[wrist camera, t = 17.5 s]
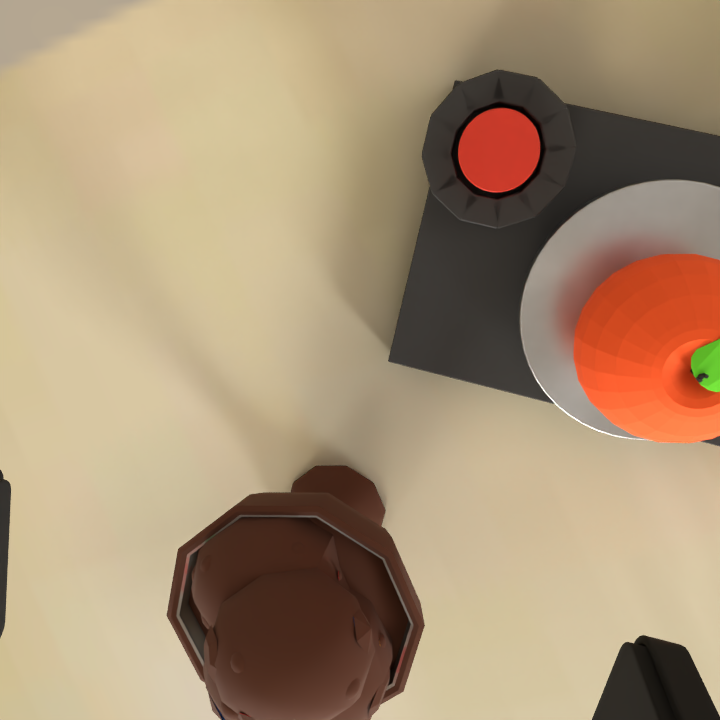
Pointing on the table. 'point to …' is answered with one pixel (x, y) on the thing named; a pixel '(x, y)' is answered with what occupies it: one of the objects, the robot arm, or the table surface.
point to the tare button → (499, 150)
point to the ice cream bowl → (298, 603)
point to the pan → (605, 273)
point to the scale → (516, 222)
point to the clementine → (655, 348)
